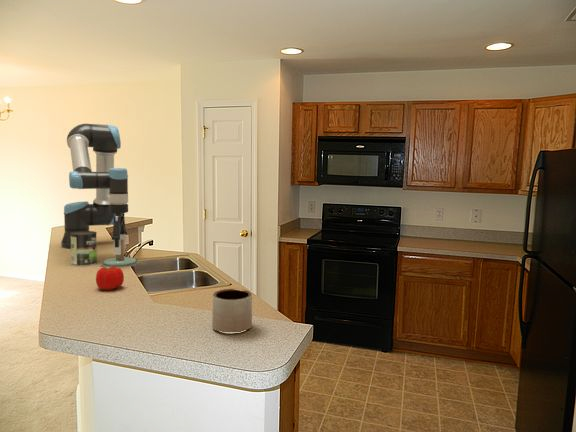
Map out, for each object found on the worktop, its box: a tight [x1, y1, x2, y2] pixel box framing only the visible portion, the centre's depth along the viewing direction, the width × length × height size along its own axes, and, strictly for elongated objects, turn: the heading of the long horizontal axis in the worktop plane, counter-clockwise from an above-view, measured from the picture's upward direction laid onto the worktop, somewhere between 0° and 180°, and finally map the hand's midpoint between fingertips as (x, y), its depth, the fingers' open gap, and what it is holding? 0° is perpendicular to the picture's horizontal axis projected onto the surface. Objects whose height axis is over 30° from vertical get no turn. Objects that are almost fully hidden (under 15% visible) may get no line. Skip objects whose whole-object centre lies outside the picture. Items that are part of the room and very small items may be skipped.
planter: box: [211, 288, 253, 332], centre depth 115 cm, size 11×11×10 cm
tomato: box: [95, 266, 125, 291], centre depth 148 cm, size 9×9×8 cm
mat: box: [99, 258, 139, 268], centre depth 185 cm, size 14×14×1 cm
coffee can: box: [70, 230, 98, 267], centre depth 182 cm, size 10×10×14 cm
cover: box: [103, 239, 137, 267], centre depth 184 cm, size 13×13×10 cm
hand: (119, 251), depth 184 cm, fingers open, 13 cm apart
